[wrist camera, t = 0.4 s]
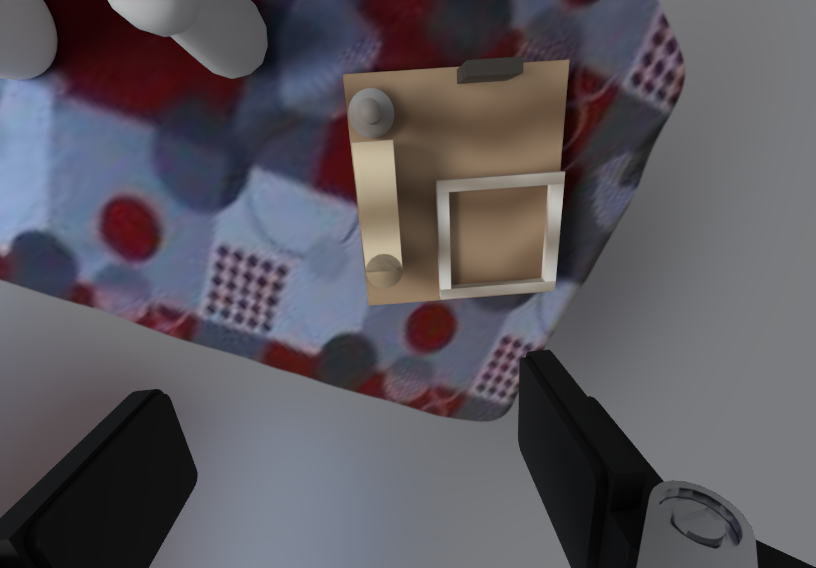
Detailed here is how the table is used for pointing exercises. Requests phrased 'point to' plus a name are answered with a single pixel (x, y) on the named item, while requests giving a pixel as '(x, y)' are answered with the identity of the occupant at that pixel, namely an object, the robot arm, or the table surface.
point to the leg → (378, 211)
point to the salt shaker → (205, 30)
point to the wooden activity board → (469, 173)
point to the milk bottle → (26, 39)
